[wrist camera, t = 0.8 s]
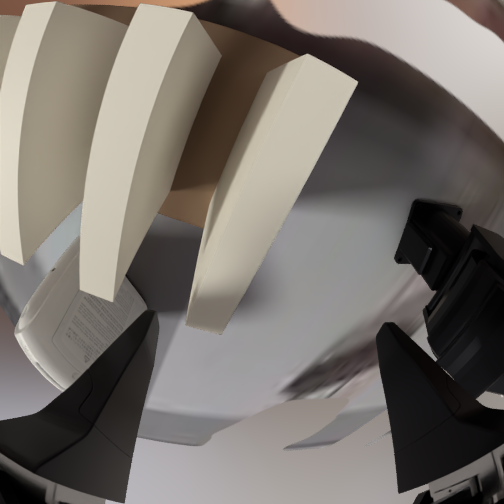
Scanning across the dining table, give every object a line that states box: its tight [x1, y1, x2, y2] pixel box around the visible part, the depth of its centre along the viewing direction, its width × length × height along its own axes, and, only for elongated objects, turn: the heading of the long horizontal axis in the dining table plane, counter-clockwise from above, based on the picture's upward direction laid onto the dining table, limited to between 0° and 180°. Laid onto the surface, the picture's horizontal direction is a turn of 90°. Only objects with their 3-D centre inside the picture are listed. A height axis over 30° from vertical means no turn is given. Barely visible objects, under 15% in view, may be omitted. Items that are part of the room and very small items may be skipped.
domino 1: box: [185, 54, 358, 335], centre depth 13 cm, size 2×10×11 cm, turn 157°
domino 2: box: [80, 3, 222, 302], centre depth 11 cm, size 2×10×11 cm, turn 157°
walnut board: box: [71, 5, 301, 228], centre depth 15 cm, size 24×14×1 cm, turn 67°
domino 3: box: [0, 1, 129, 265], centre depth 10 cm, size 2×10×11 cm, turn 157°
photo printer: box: [15, 236, 147, 392], centre depth 19 cm, size 10×4×12 cm, turn 21°
